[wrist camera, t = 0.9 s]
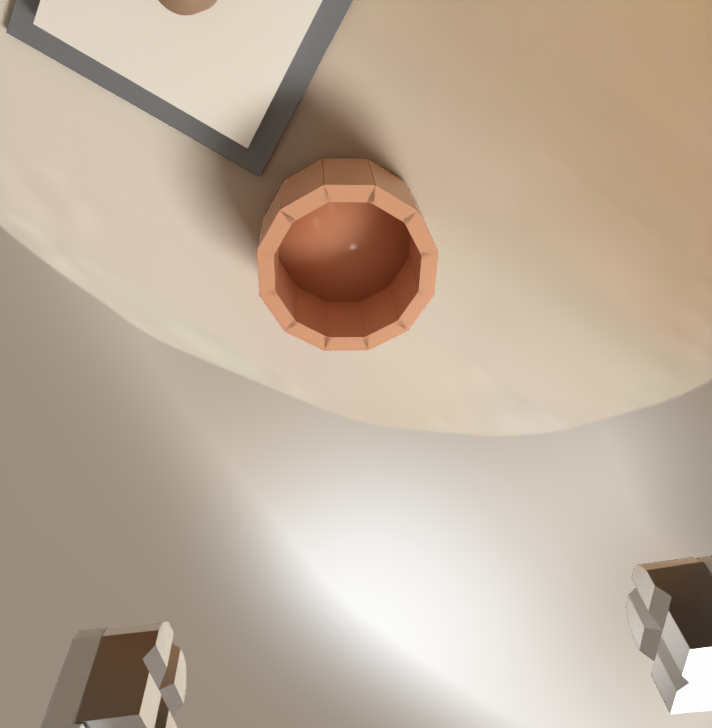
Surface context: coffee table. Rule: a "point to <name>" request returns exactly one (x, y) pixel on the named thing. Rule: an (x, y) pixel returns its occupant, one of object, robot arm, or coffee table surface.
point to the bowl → (345, 255)
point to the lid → (191, 50)
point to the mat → (249, 158)
